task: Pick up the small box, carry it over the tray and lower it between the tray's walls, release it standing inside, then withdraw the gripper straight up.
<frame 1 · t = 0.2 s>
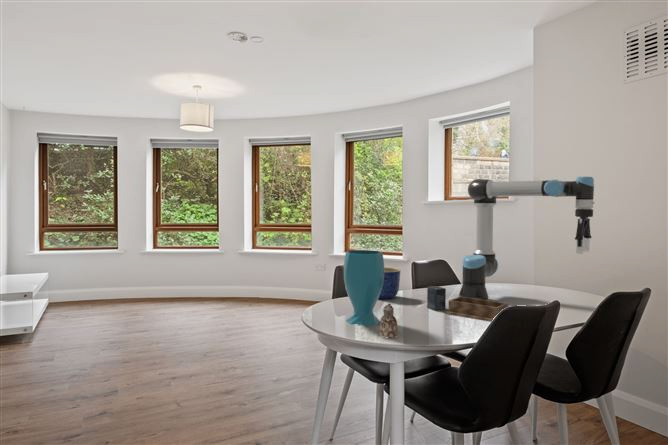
hand: (582, 252, 218), 28 cm above the table, fingers open, 13 cm apart
box: (436, 309, 218), on the table
planter: (384, 297, 244), on the table
figurine: (388, 336, 173), on the table
tray: (477, 314, 207), on the table
vase: (363, 321, 194), on the table
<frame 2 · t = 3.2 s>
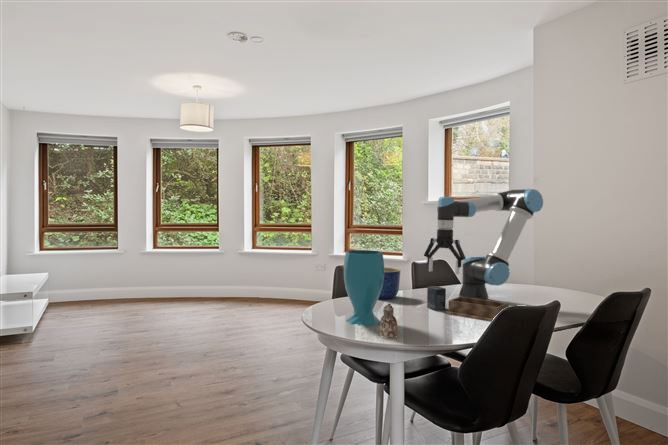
hand: (443, 272, 217), 18 cm above the table, fingers open, 13 cm apart
nothing on the table moved.
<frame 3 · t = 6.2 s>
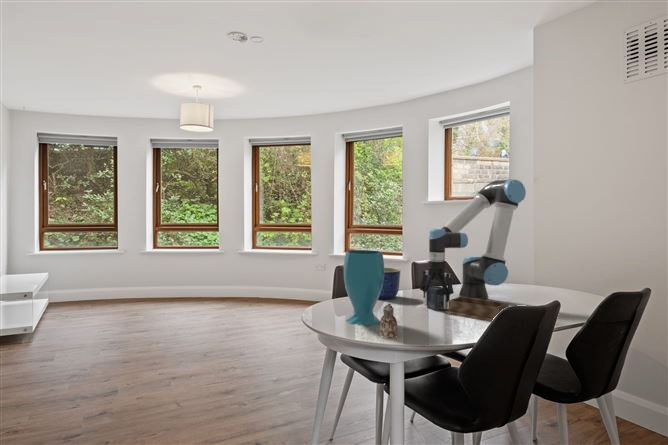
hand: (436, 306, 218), 1 cm above the table, fingers closed on box, 9 cm apart
box: (436, 309, 218), on the table, touching gripper
everything else where it was.
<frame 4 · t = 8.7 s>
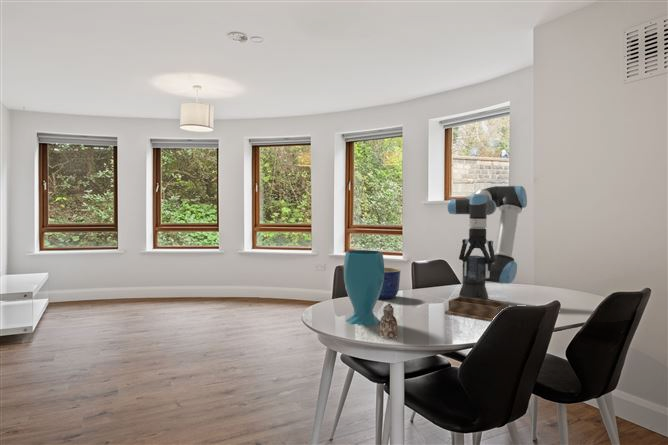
hand: (476, 276, 206), 18 cm above the table, fingers closed on box, 9 cm apart
box: (476, 279, 206), point 16 cm above the table, touching gripper
everything else where it was.
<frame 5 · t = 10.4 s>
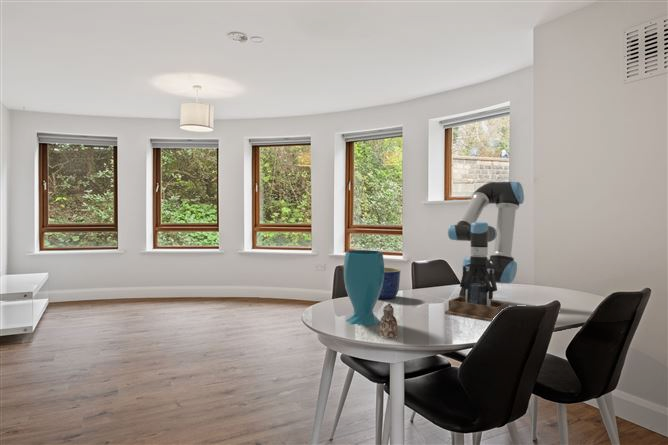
hand: (477, 304, 206), 5 cm above the table, fingers closed on box, 9 cm apart
box: (477, 307, 206), point 3 cm above the table, touching gripper
everything else where it was.
when the fingers open (4 cm above the table, at t = 11.5 s): box drops 1 cm, resting on tray.
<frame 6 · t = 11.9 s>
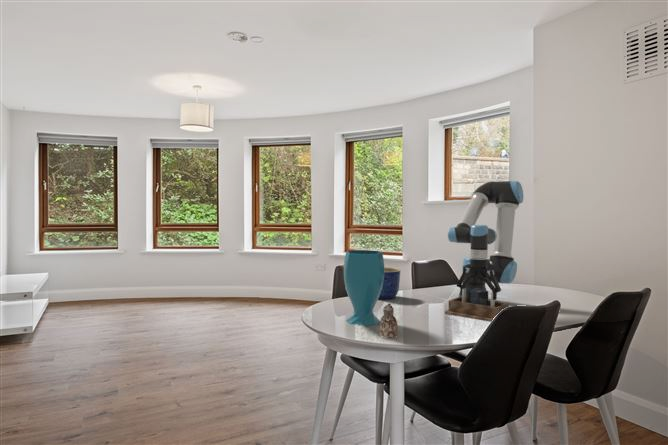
hand: (477, 304, 207), 5 cm above the table, fingers open, 13 cm apart
box: (477, 313, 207), point 1 cm above the table, touching tray
everything else where it was.
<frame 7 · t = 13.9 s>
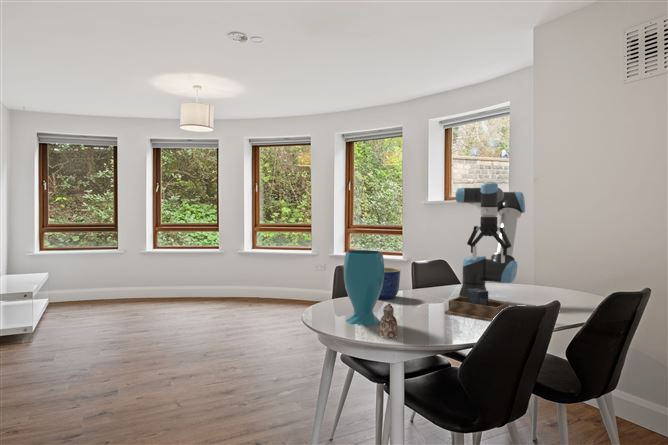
hand: (488, 261, 211), 24 cm above the table, fingers open, 13 cm apart
nothing on the table moved.
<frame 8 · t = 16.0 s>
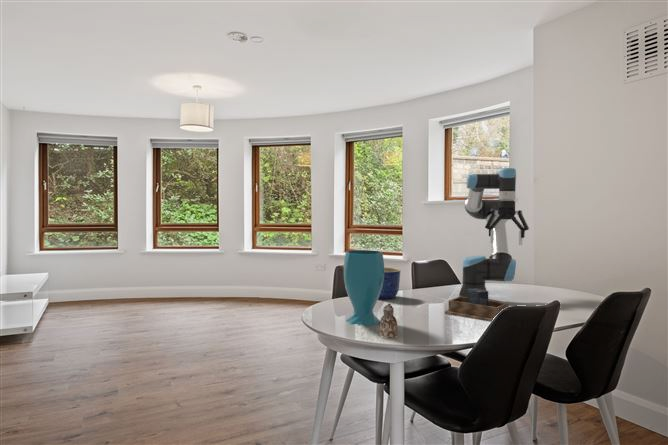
hand: (506, 244, 218), 32 cm above the table, fingers open, 13 cm apart
nothing on the table moved.
at the end: box inside the target area on the tray (0.1 cm from its centre), point 0.8 cm above the tray's base; box tilted 0°; the gripper is holding nothing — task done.
